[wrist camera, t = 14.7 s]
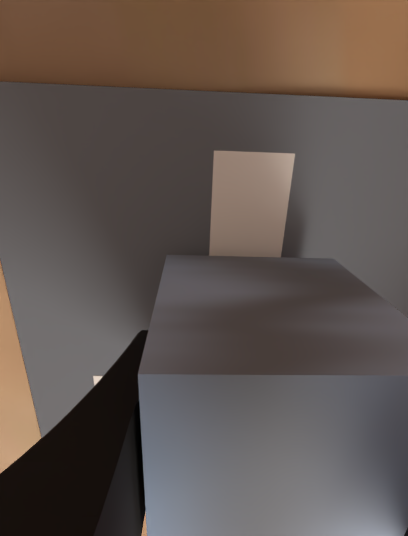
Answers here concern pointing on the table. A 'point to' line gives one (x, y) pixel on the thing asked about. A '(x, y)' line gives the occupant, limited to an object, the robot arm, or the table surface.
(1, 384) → the table surface
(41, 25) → the table surface
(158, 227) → the board
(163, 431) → the gray cube
